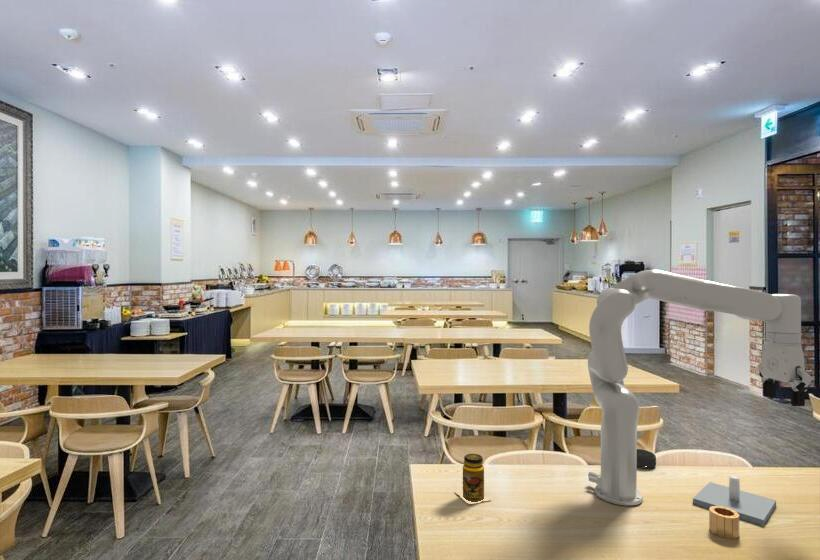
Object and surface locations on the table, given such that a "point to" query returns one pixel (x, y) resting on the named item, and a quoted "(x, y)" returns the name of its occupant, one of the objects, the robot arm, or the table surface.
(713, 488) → the peg stand
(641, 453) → the smart speaker
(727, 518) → the ring
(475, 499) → the condiment
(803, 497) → the table surface
